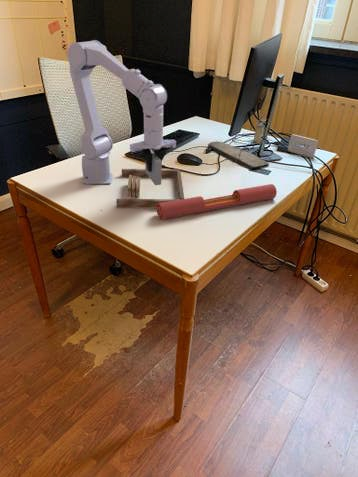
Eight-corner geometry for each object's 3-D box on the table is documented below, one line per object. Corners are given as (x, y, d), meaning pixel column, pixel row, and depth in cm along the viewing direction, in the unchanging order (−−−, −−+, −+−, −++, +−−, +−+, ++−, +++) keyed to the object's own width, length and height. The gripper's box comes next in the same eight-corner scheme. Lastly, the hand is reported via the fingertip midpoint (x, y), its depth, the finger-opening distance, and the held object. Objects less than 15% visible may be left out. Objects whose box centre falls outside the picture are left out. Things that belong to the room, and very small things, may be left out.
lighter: (257, 143, 168) (261, 122, 162) (251, 141, 170) (254, 120, 164) (266, 140, 172) (270, 119, 166) (259, 138, 174) (263, 117, 169)
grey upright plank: (155, 185, 113) (155, 161, 108) (145, 172, 120) (145, 149, 116) (161, 184, 114) (161, 160, 109) (151, 171, 121) (151, 149, 117)
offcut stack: (127, 197, 119) (127, 187, 117) (129, 184, 128) (129, 174, 126) (139, 197, 120) (139, 188, 118) (140, 184, 128) (139, 175, 126)
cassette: (314, 157, 157) (318, 140, 153) (312, 158, 156) (317, 141, 151) (288, 150, 163) (292, 133, 158) (286, 151, 162) (290, 134, 157)
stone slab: (222, 139, 165) (271, 159, 145) (222, 145, 167) (270, 166, 147) (205, 143, 160) (253, 164, 140) (205, 150, 162) (252, 172, 142)
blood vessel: (266, 194, 126) (269, 181, 123) (275, 200, 123) (278, 187, 120) (156, 214, 112) (156, 200, 109) (162, 222, 108) (162, 208, 105)
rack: (116, 207, 113) (116, 199, 112) (122, 174, 133) (121, 167, 131) (184, 208, 115) (184, 199, 113) (179, 175, 135) (179, 168, 133)
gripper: (134, 135, 102) (135, 178, 110) (180, 130, 107) (178, 172, 115) (127, 127, 107) (128, 169, 115) (171, 123, 112) (170, 164, 120)
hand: (153, 170), depth 115 cm, fingers closed on grey upright plank, 2 cm apart
